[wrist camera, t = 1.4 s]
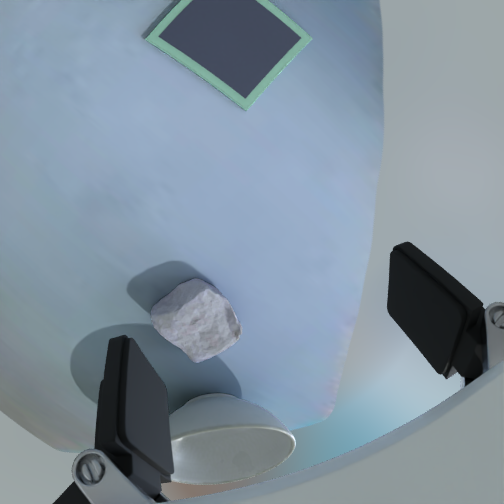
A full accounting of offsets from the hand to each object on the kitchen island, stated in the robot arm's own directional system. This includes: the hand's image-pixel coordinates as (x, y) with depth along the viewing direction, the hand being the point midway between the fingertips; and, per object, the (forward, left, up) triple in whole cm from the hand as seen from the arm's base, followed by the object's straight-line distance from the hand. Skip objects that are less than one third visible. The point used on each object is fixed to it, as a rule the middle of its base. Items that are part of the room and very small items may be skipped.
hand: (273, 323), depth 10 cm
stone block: (+12, -18, -27) cm, 35 cm away
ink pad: (-7, +13, -27) cm, 31 cm away
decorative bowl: (+28, -38, -27) cm, 55 cm away
